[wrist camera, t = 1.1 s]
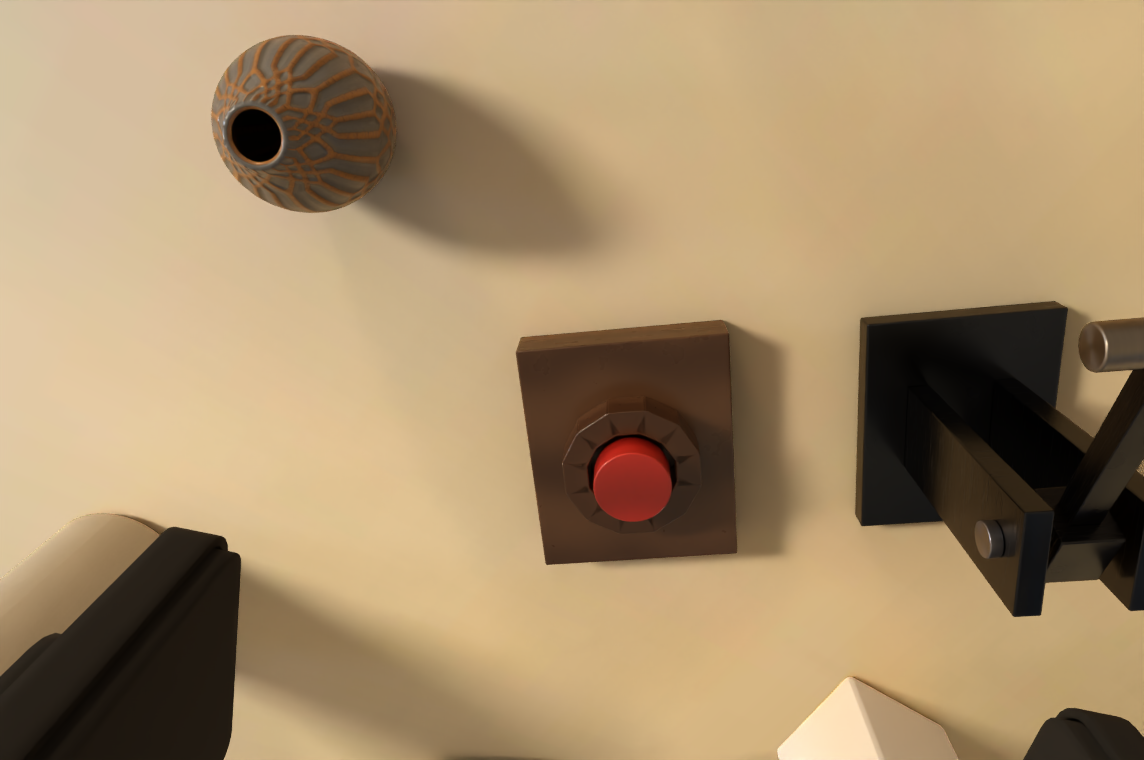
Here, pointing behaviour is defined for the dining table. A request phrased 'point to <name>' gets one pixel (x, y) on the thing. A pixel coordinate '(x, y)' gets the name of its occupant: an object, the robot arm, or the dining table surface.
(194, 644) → the robot arm
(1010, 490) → the switch bracket
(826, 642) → the dining table surface
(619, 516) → the button
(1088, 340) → the switch lever
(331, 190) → the vase
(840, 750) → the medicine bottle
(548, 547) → the housing
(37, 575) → the travel mug
